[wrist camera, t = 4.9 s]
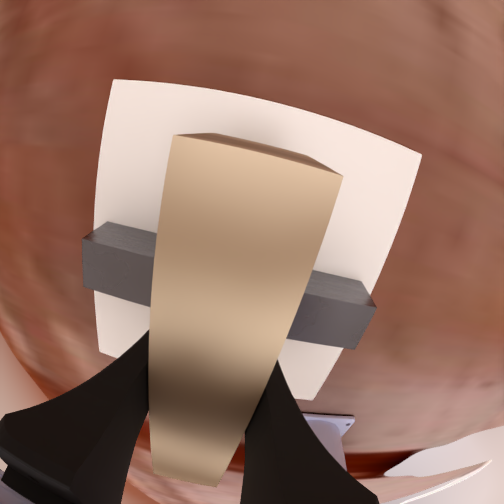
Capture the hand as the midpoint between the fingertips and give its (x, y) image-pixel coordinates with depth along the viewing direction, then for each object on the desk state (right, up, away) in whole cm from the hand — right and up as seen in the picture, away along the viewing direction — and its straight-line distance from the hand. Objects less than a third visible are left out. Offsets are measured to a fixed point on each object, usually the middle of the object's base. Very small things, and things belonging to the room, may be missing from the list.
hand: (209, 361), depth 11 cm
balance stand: (0, +3, +8) cm, 8 cm away
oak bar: (0, +1, +3) cm, 3 cm away
